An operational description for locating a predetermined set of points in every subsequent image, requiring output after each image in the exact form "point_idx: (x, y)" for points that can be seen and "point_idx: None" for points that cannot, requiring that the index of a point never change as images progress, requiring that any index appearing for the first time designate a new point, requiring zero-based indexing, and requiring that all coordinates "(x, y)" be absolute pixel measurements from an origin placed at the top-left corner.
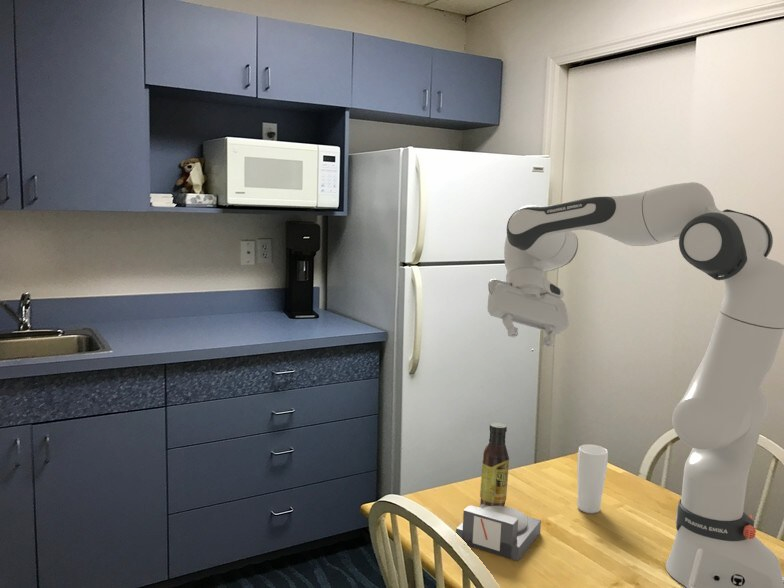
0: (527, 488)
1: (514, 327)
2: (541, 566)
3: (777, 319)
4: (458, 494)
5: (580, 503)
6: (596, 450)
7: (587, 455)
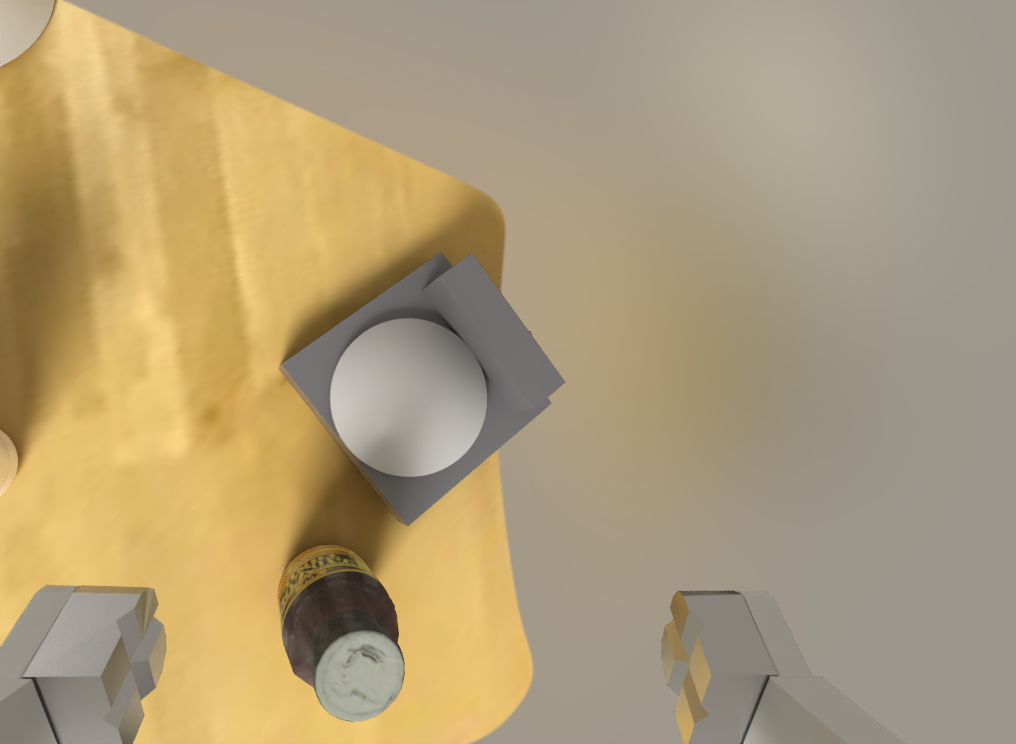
0: None
1: (764, 670)
2: (385, 217)
3: None
4: None
5: (12, 460)
6: None
7: None
